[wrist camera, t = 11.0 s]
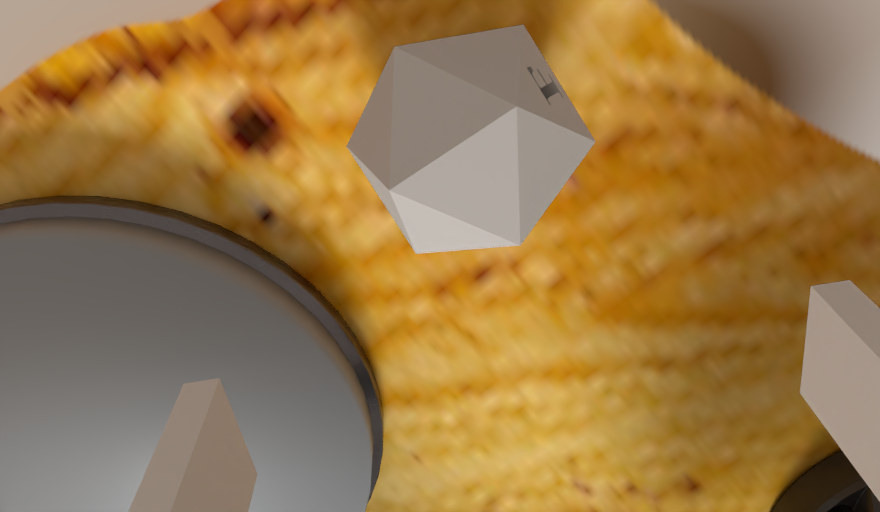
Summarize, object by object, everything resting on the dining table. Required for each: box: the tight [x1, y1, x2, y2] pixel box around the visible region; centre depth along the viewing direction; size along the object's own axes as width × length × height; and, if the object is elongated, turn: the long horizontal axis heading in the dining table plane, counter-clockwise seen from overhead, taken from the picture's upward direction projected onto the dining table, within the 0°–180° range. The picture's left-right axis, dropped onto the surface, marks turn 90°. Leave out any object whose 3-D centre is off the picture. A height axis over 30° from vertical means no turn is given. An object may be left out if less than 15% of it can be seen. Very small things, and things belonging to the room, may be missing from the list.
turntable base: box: [0, 196, 383, 503], centre depth 38 cm, size 27×27×1 cm
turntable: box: [0, 216, 373, 512], centre depth 34 cm, size 26×26×8 cm
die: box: [347, 25, 595, 254], centre depth 28 cm, size 8×9×10 cm
